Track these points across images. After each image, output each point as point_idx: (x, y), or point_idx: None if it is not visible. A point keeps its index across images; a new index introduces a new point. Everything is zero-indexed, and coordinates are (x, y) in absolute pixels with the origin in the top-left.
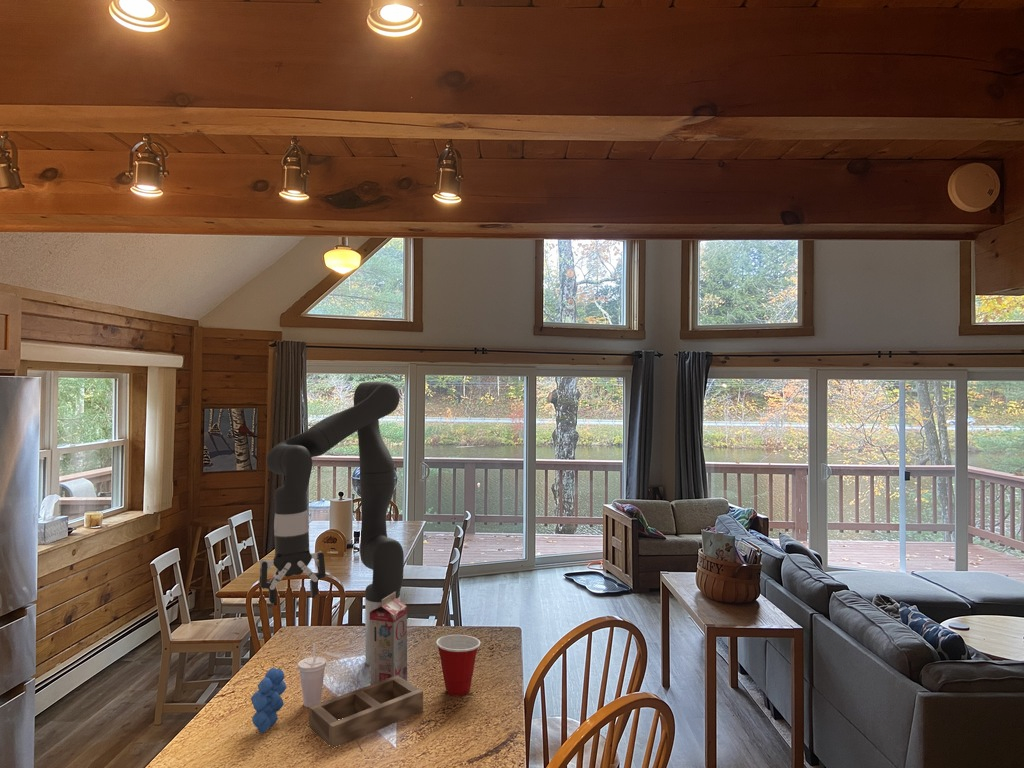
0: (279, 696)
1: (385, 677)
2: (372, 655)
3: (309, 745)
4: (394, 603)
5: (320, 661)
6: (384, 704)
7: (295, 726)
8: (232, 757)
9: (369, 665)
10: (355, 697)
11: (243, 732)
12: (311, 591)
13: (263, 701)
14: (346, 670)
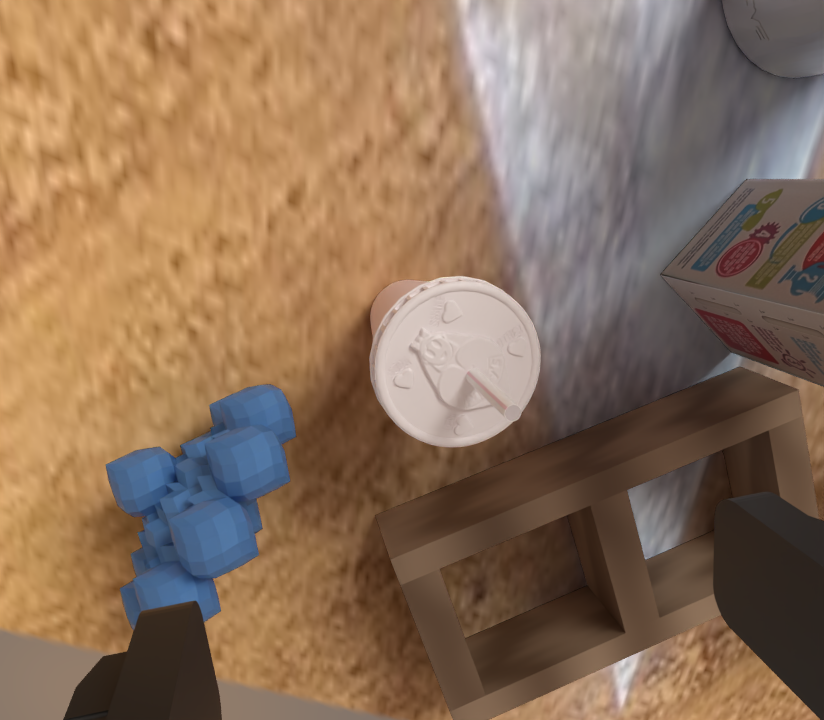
0: (258, 518)
1: (749, 339)
2: (777, 312)
3: (365, 631)
4: None
5: (507, 386)
6: (670, 625)
7: (323, 486)
8: (80, 634)
9: (729, 20)
10: (586, 507)
11: (103, 464)
12: (775, 623)
13: None
14: (614, 3)
